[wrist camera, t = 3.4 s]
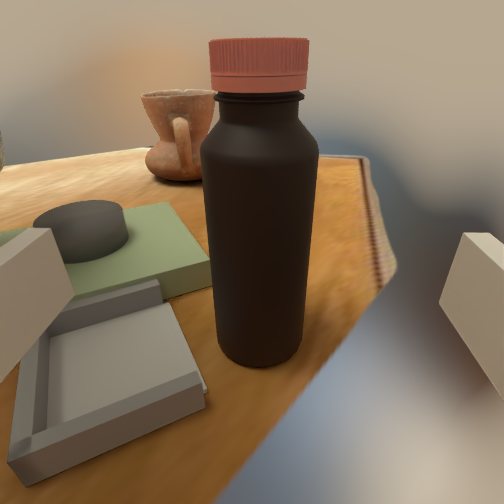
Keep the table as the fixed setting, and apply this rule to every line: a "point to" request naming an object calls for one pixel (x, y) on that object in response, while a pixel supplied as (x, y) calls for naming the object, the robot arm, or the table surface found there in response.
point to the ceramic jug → (178, 131)
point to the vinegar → (259, 197)
